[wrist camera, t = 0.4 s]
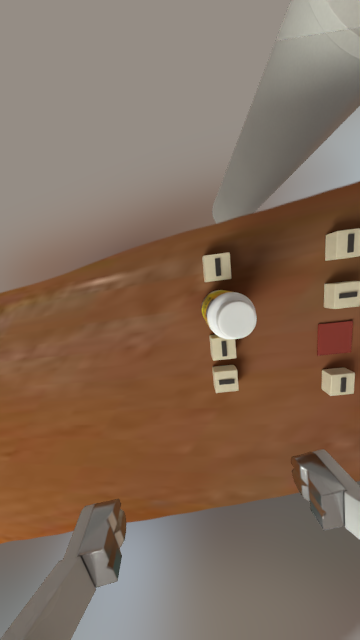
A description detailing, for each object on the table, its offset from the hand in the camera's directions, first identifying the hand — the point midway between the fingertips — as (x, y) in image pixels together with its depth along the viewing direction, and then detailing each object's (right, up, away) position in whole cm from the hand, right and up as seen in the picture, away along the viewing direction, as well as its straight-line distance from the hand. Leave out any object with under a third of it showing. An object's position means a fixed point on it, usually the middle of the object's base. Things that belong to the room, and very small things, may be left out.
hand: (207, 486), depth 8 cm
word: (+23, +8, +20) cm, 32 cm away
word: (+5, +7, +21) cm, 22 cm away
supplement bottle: (+5, +10, +20) cm, 23 cm away
